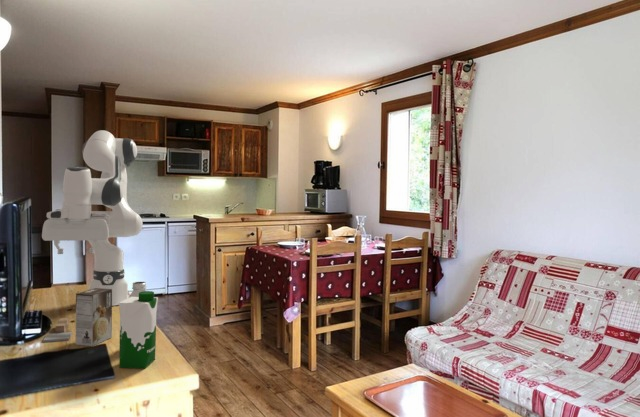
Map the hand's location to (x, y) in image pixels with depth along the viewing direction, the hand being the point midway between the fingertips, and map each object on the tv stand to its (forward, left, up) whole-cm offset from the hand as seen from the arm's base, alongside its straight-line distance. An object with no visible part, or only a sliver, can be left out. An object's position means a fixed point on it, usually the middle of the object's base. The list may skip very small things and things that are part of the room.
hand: (76, 253), depth 155 cm
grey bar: (+5, -4, -26) cm, 27 cm away
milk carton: (+40, +20, -26) cm, 52 cm away
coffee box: (+16, +7, -26) cm, 32 cm away
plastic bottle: (+26, +20, -26) cm, 42 cm away
